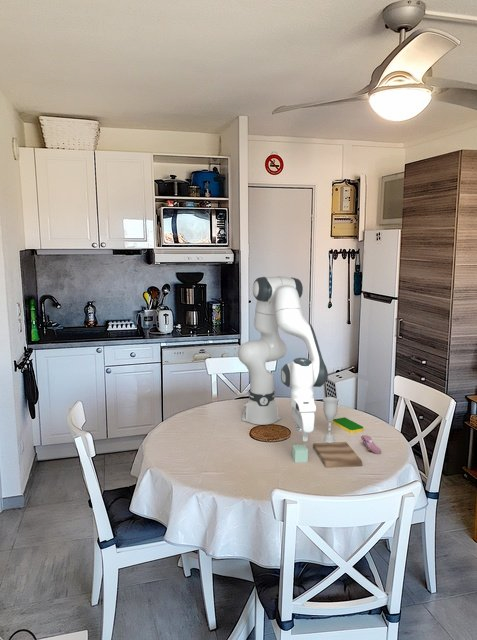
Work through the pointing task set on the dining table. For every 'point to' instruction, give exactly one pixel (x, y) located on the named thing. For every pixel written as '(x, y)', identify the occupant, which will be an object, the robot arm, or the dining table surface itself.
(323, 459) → the walnut board
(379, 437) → the dining table surface
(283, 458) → the dining table surface
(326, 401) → the chalice
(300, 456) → the sage cube
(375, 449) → the video game controller
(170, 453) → the dining table surface
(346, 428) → the dish sponge
